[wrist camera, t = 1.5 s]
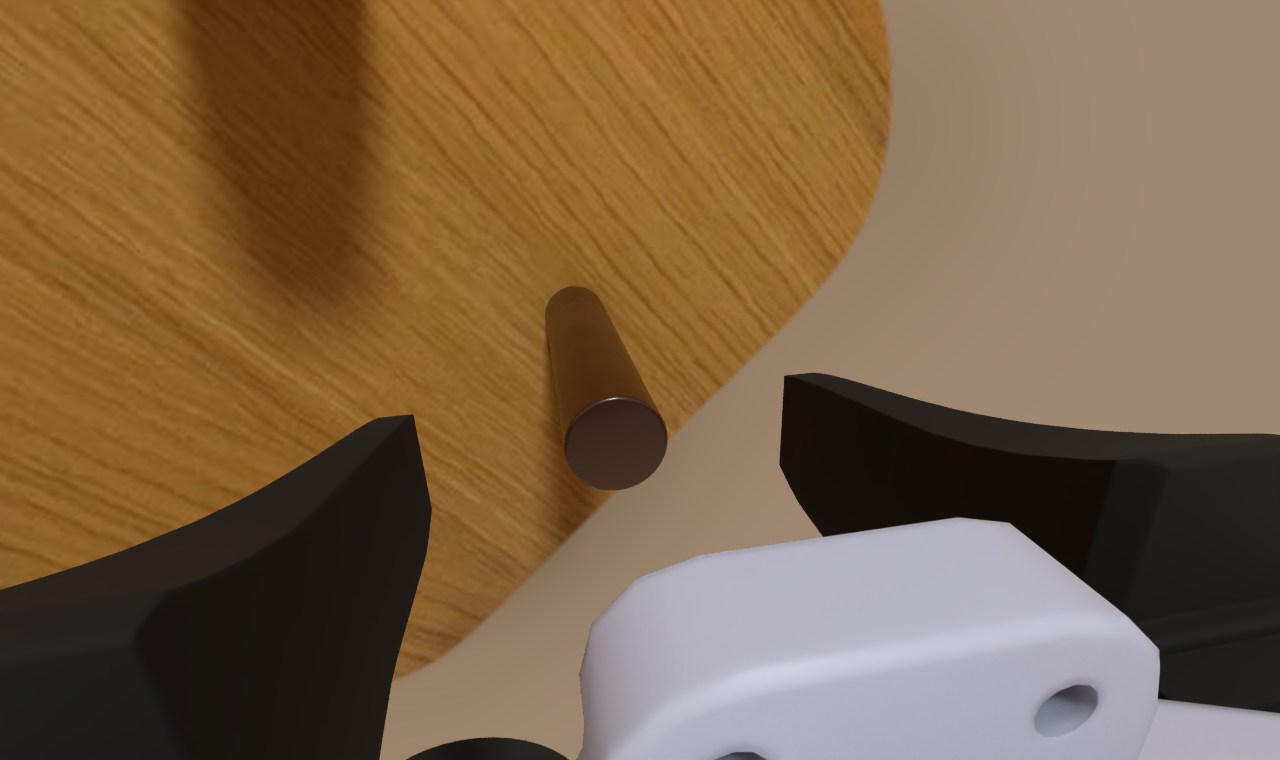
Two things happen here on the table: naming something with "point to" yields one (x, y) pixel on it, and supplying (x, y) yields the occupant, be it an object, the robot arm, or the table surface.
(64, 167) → the table surface
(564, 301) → the stirring stick
